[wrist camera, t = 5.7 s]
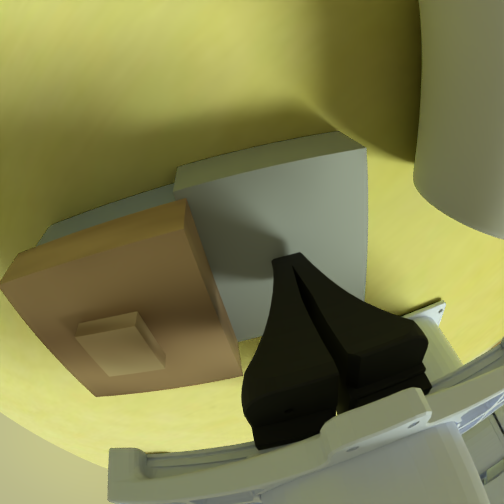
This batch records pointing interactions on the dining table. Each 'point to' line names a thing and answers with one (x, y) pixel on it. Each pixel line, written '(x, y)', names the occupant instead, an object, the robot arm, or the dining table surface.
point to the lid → (128, 304)
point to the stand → (279, 218)
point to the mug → (462, 112)
